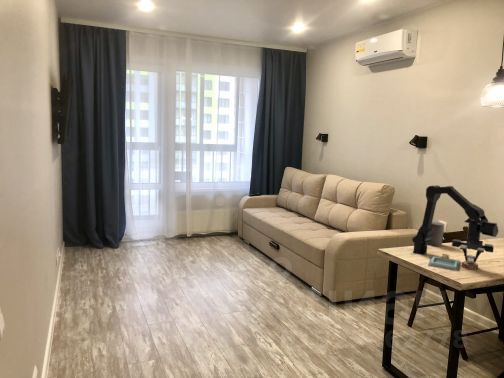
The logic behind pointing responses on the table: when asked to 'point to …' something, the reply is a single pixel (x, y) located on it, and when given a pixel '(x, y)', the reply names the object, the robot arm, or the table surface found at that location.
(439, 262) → the carrier plate
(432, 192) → the robot arm
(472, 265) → the planet gear
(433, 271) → the table surface
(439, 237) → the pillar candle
